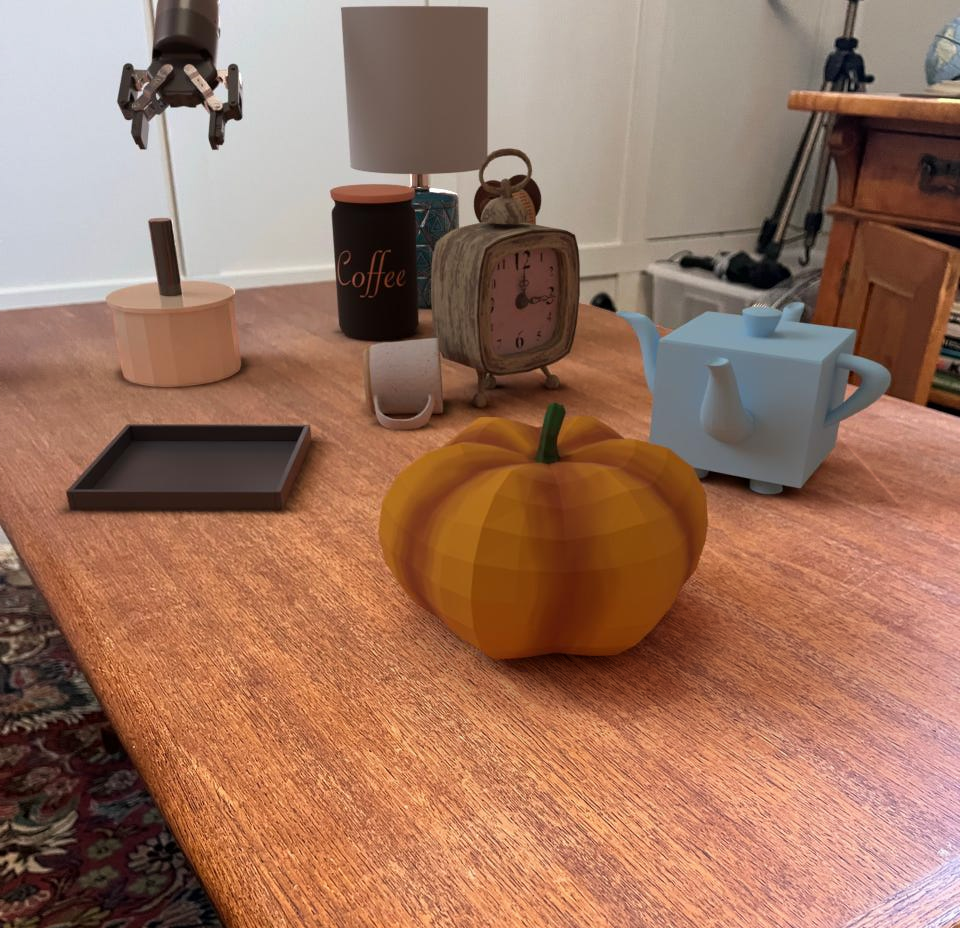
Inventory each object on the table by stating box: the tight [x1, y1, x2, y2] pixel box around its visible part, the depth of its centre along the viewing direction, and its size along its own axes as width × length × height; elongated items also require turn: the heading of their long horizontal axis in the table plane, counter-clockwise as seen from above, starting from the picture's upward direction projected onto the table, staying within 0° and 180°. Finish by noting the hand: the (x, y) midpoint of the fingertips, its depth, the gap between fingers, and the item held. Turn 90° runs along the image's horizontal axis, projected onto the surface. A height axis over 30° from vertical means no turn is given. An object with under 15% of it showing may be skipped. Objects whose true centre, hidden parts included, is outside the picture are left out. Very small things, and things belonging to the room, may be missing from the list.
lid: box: [105, 217, 236, 314], centre depth 115 cm, size 14×14×9 cm
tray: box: [65, 423, 312, 512], centre depth 93 cm, size 18×17×2 cm
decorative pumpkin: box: [377, 401, 709, 660], centre depth 67 cm, size 20×22×15 cm
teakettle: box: [615, 301, 892, 495], centre depth 91 cm, size 19×19×15 cm
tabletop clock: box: [431, 147, 581, 409], centre depth 108 cm, size 14×9×25 cm, turn 129°
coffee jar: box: [329, 183, 420, 342], centre depth 132 cm, size 11×11×18 cm
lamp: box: [340, 5, 489, 309], centre depth 142 cm, size 19×19×38 cm
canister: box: [110, 299, 242, 388], centre depth 119 cm, size 14×14×8 cm
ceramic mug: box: [362, 337, 444, 431], centre depth 105 cm, size 11×8×8 cm
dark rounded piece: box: [473, 173, 542, 225], centre depth 127 cm, size 15×15×20 cm
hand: (177, 145), depth 119 cm, fingers open, 8 cm apart
